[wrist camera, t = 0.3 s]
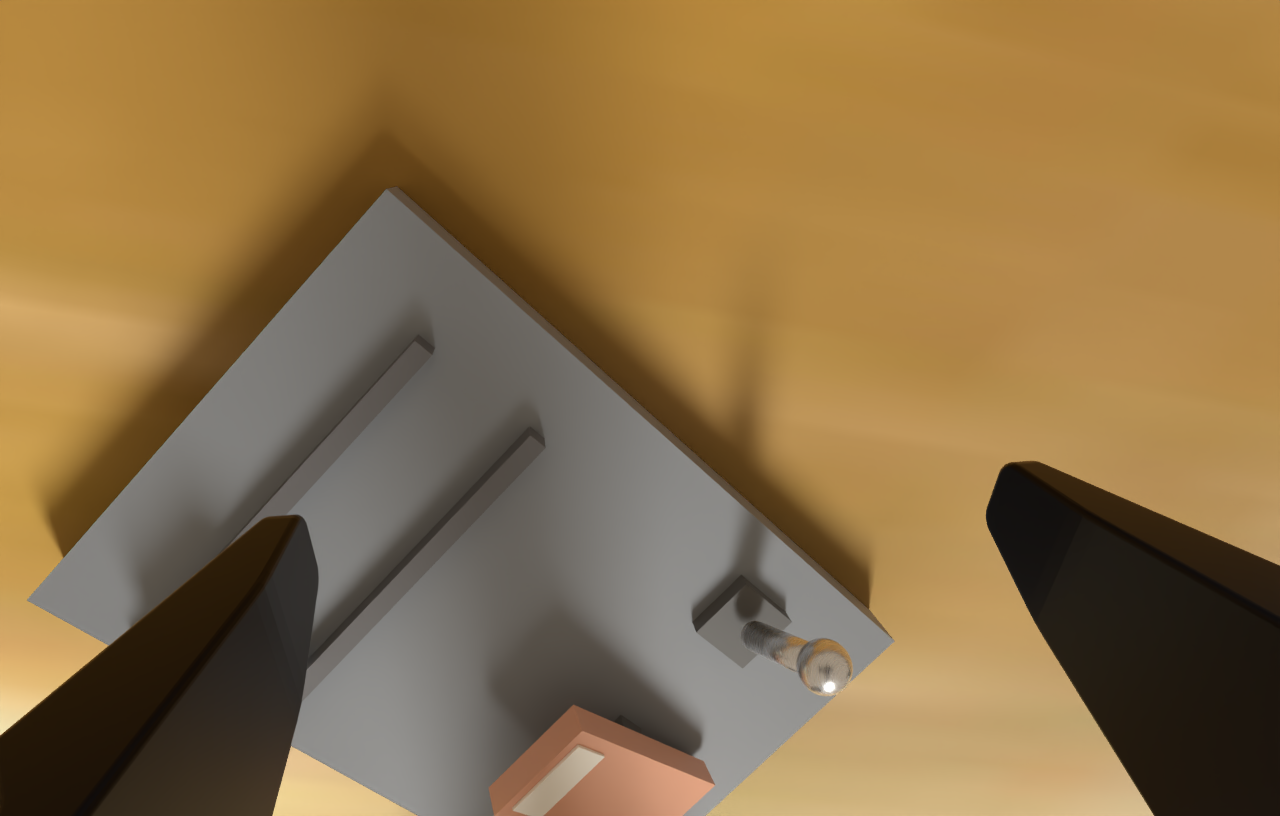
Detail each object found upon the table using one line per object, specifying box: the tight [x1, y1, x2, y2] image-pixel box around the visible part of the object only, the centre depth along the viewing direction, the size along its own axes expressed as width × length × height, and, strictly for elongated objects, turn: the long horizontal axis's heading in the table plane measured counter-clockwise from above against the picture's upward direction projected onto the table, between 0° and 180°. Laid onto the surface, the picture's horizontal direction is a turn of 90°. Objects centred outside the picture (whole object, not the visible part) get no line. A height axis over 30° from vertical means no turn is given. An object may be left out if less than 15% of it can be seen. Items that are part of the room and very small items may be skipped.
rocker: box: [489, 705, 715, 816], centre depth 25 cm, size 4×7×1 cm, turn 45°
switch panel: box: [27, 186, 894, 816], centre depth 25 cm, size 16×23×3 cm
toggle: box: [741, 621, 853, 696], centre depth 23 cm, size 2×2×5 cm
